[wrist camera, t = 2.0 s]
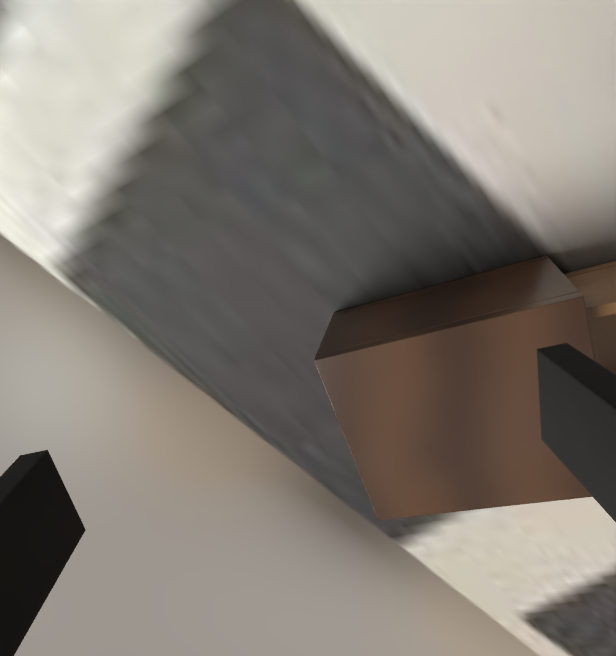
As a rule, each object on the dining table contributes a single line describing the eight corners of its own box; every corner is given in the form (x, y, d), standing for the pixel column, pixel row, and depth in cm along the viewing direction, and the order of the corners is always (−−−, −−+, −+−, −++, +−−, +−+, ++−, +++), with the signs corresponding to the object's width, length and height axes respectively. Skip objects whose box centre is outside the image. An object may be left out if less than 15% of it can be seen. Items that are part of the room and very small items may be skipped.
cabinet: (546, 254, 34) (584, 295, 26) (578, 418, 38) (618, 494, 31) (333, 312, 39) (313, 360, 32) (384, 449, 44) (377, 520, 36)
